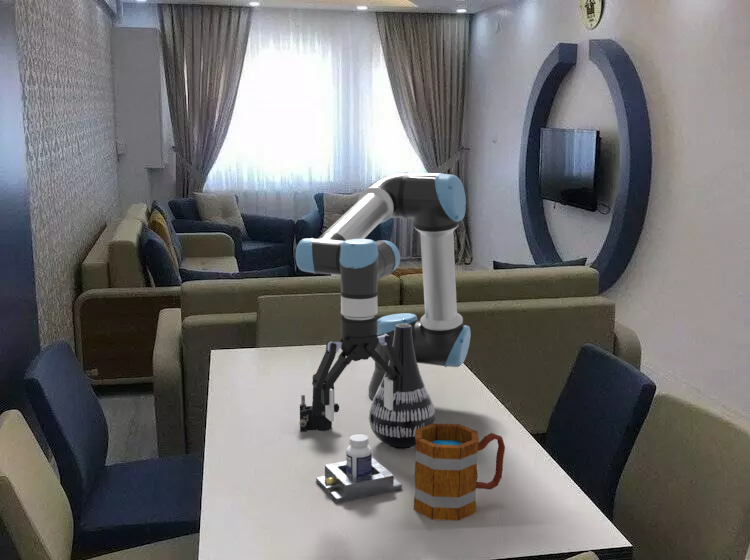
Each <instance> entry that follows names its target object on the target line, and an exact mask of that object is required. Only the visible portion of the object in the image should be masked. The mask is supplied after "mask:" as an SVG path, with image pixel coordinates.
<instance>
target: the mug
mask: <svg viewBox="0 0 750 560" xmlns="http://www.w3.org/2000/svg"><path fill="white" fill-rule="evenodd" d="M494 440H496V441H497V446H498V447H497V450H496V455H495V472H494V476H493V478H492V480H491V481H489V482H484V481H478V478H479V476H478V452H479V451H483V450H484V449H485V448H486V447H488V444H489V443H490V442H492V441H494ZM415 443H416V445H415V451H416V452H415V462H414V463H415V464H414V483H415V485H414V486H415V490H414V498H413V511H415V512H417V513H418V514H420V515H422V516H425V517H426V518H428V519H430V520H432V521H433V520H435V521H436V520H439V521H458V522H460V521H461V520H464V519H465V518H468V517H469V516H472V515H474V514H476V513H477V504H476V502H477V501H476V497H477V496H476V495H477V494H476V493H477V491H476V490H477V489H480V490H481V489H482V490H491V491H492V489H495V488H496V487H499V484H500V482H501V480H502V478H503V470H504V469H503V467H504V456H505V450H506V447H505V443H504V439H503V437H502V436H501V435H499V434H496V433H493V432H490V433H489V434H485V436H484V437H482V438H481V440H480V438H479V432H478V430H475V429H473V428H470V427H467V426H465V425H462V424H459V423H437V422H435V423H433V424H430V425H427V426H424V427H421V428H418V429H416V432H415Z"/></svg>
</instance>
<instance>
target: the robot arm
mask: <svg viewBox="0 0 750 560" xmlns="http://www.w3.org/2000/svg"><path fill="white" fill-rule="evenodd" d="M466 206H467V200H466V192H465V188H464V185H463V182H462V181H461V179H460V178H459V177H458V176H457V175H455V174H449V173H443V172H438V173H436V172H434V173H433V172H431V173H430V172H397V173H393V174H389V175H386V176H384V177H382V178H380V179H378V180H376V181H374V182H373V183H371V184H370V185H368V186H367V187H366V188H365V189H363V190H362V191H361V193H360V194H359V196H358V199H357V202H356V203H354V204H353V205H352V206H351V207H350V208H349V209H348V210H346V212H345V213H344V214H342V216H340V217H339V218H338V219H337V220H336V221H335V222H334V223H333V224H332V225H331V226H330V227H329V228H327V229H326V230H325V232H323V233H322V234H321V235H320V236H319V237H318V238H314V237H311V238H308V237H307V238H302V239H301V240H300V241H299V242H298V244H297V246H296V248H295V249H296V250H295V260H296V263H295V264H296V266H297V267H298V270H300V271H302V272H305V273H311V274H312V273H313V274H314V275H315V274H322V275H323V274H324V275H337V276H340V315H342V316H341V317H340V336H341V337H340V341H332V340H327V341H326V344H325V345H326V346H325V351H324V354H323V356H322V359H321V361H320V364H319V366H318V368H317V370H316V373H315V374H316V375H315V377H314V379H313V378H312V381H311V385H312V387H313V386H314V387H316V388H317V389H321V402H322V404H324V405H325V413H326V418H327V419H328V420H330V421H332V422H335V413H334V404H335V390H334V391H333V390H332V389H331V387H332V386H333V384H334V385H335V383H336V381H337V380H338V379H339V378H340V376H341V374H342V373H343V371H344V370H345V369H346V368H347V366H349V365H350V364H351V362H352V361H353V362H358V361H361V360H363V361H367V360H369V359H370V358H371V359H372V360H373V361H374V370H373V373H372V377H371V378H370V382H369V385H368V397H369V398H371V400H373V398H374V396H375V394H376V392H377V390H378V388H379V386H380V384H381V382H382V380H383V377H384V375H385V373H386V374H387V375H388V377H384V407H386V408H387V409H388V410H393V394H394V393H396V381H398V380H399V376H403V375H404V374H405V371H404V369H403V367H402V365H401V363H400V361H399V359H398V357H397V354H396V352H395V350H394V348H393V346H392V345H393V339H394V332H395V325H397V324H410V325H411V326H412V336H413V344H414V350H415V356H416V360H417V364H421V365H431V366H439V367H444V368H448V367H449V368H451V367H452V368H459V367H461V366H462V365H463V363H464V361H466V358H467V355H468V351H469V348H470V343H471V337H472V336H471V334H472V332H471V328H470V326H469V325H466V324H464V318H463V315H461V314H460V313H459V312H458V311H457V310H458V305H457V288H456V287H457V285H456V264H455V261H456V260H455V241H454V240H455V239H454V231H455V230H456V229H457V228H458V227H459V226H460V225H459V224H460V221H463V220H464V217H465V215H466V212H467V211H466ZM394 218H397V219H398V218H401V219H412V220H413V228H414V229H415V231H417V232H418V233H419V234H420V249H421V250H420V252H421V253H420V254H421V266H422V282H423V300H424V302H423V303H424V314H422V316H421V317H420V320H418V317H417V315H416V314H415V313H410V312H408V313H407V312H405V313H404V312H403V313H393V314H388V315H383V316H381V317H380V318H378V317H377V314H378V313H379V312H378V307H379V306H378V281H379V280H380V279H383V278H385V277H388V276H390V275H391V274H392V273H393V272H394V271H396V270H397V268H398V267H399V265H400V263H401V253H400V251H399V249H398V247H397V245H395V243H393V242H391V241H389V240H384V239H383V240H373V239H369V238H366V237H368V235H369V234H370V233H371V232H373V231H374V229H375V228H376V227H377V226H378V225H379V224H382V223H385V222H386V221H388V220H390V219H394ZM340 349H341V352H340V353H339V355H338V356H337V357H338V359H337V360H336V361H335V363H334V364H333V362H334V360H335V358H336V355H337V353H338V352H339V350H340ZM389 360H390V362H391V364H392V366H393V368H394V370H392V369H391V368H390V367H389V366H388V363H389ZM332 364H333V366H332Z"/></svg>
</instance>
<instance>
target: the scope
mask: <svg viewBox="0 0 750 560" xmlns="http://www.w3.org/2000/svg"><path fill="white" fill-rule="evenodd" d="M315 375H316V373H314V374H313V375H312V380H313V379H314V377H315ZM331 389H332V390H333V391H334V392H335V383H334V384H333V386H332V387H331ZM300 400H301V402H300V404H299V432H300V433H303V432H304V433H306V432H308V431H320V432H326V431H327V432H328V431H331V430H332V428H333V426H332V425H333V423H332V422H333V421H330V420H328V419H327V418H326V413H325V405H324V404H322V402H321V389H317V388H316V387H314V386H313V385H312V401H311V402H312V403H311V405H307V404H306V395H305V394H301V395H300ZM339 411H340V405H339V404H338V403H335V402H334V414H335V413H338V412H339Z"/></svg>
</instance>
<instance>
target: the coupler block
mask: <svg viewBox="0 0 750 560" xmlns="http://www.w3.org/2000/svg"><path fill="white" fill-rule="evenodd" d="M315 482H316V483H317V485H319V487H321V489H322V490H323V491H324V492H325V493H327V495H329V497H330V498H331V499H332V500H333V501H334V502H335V503H336V504H340V503H344V502H348V501H353V500H358V499H362V498H366V497H371V496H376V495H380V494H385V493H389V492H395V491H398V490H399V491H400V490H402V489H403V484H402V483H401V482H400V481H398V480H397V479H396V478H395V477H394V474H393V473H392V472H390V471H389V470H388V469H387V468H386V467H385V466H383V465H382V464H381V463H380V462H378V460H376V459H375V458H374V457H372V475H370V476H366V477H361V478H356V479H349V478H348V477H347V467H346V460H343V461H338V462H334V463H333V462H332V463H327V464H324V475H321V476H317V477H316V478H315Z"/></svg>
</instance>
